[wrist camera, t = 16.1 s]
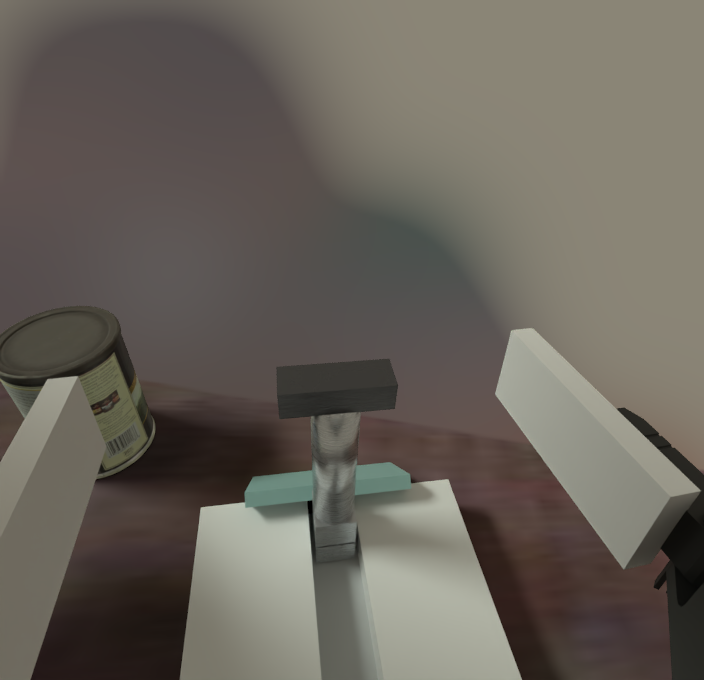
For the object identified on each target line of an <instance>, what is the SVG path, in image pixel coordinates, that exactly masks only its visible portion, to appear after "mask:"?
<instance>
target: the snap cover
mask: <svg viewBox="0 0 704 680" xmlns="http://www.w3.org/2000/svg"><path fill="white" fill-rule="evenodd" d="M405 489H411V479H410V474H409V473H407V472H405V471H404V470H402V469H400V468H399V467H397V466H396V465H394V464H392V463H391V462H388V463H378V464H369V465H359V466H357V471H356V485H355V495H361V494H370V493H379V492H387V491H396V490H405ZM312 490H313V475H312V471H303V472H293V473H284V474H275V475H265V476H256V477H253V478H252V480H251V482H250V484H249V485H248V487H247V489H246V491H245V508H249V507H257V506H266V505H275V504H283V503H292V502H301V501H309V500H312Z"/></svg>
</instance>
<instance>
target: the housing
mask: <svg viewBox="0 0 704 680" xmlns="http://www.w3.org/2000/svg"><path fill="white" fill-rule="evenodd" d="M354 508H355V514H356V520H357V528H356V541H355V553H354V558H350V559H343V560H336V561H328V562H321V563H316V553H315V541H314V530H313V513H311V514H308V505H307V501H301V502H292V503H283V504H275V505H266V506H257V507H249V508H245V503H236V504H227V505H218V506H209V507H201V511H200V519H199V527H198V535H197V543H196V551H195V560H194V568H193V576H192V584H191V592H190V600H189V608H188V616H187V624H186V632H185V640H184V648H183V657H182V665H181V673H180V680H522V678H521V676H520V673H519V670H518V668H517V665H516V662H515V659H514V657H513V654H512V651H511V649H510V646H509V643H508V640H507V638H506V635H505V632H504V630H503V627H502V624H501V621H500V619H499V616H498V613H497V611H496V608H495V605H494V603H493V600H492V597H491V594H490V592H489V589H488V586H487V584H486V581H485V578H484V575H483V573H482V570H481V567H480V565H479V562H478V559H477V556H476V554H475V551H474V548H473V546H472V543H471V540H470V537H469V535H468V532H467V529H466V527H465V524H464V521H463V518H462V516H461V513H460V510H459V508H458V505H457V502H456V500H455V497H454V494H453V491H452V489H451V486H450V483H449V481H448V479H446V480H438V481H429V482H420V483H411V489H405V490H396V491H387V492H379V493H370V494H361V495H355V500H354Z"/></svg>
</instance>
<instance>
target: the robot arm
mask: <svg viewBox="0 0 704 680" xmlns="http://www.w3.org/2000/svg"><path fill="white" fill-rule="evenodd" d="M495 395H496V396H497V397H498V399H499V400H500V401H501V403H502V404H503V406H504V407H505V408H506V410H507V411H508V412H509V414H510V415H511V416H512V418H513V419H514V421H515V422H516V423H517V425H518V426H519V427H520V429H521V430H522V431H523V433H524V434H525V436H526V437H527V438H528V440H529V441H530V442H531V444H532V445H533V446H534V448H535V449H536V451H537V452H538V453H539V455H540V456H541V457H542V459H543V460H544V461H545V463H546V464H547V466H548V467H549V468H550V470H551V471H552V472H553V474H554V475H555V476H556V478H557V479H558V481H559V482H560V483H561V485H562V486H563V487H564V489H565V490H566V491H567V493H568V494H569V496H570V497H571V498H572V500H573V501H574V502H575V504H576V505H577V506H578V508H579V509H580V511H581V512H582V513H583V515H584V516H585V517H586V519H587V520H588V521H589V523H590V524H591V526H592V527H593V528H594V530H595V531H596V532H597V534H598V535H599V536H600V538H601V539H602V541H603V542H604V543H605V545H606V546H607V547H608V549H609V550H610V551H611V553H612V554H613V556H614V557H615V558H616V560H617V561H618V562H619V564H620V565H621V566H622V568H623V569H628V568H633V567H637V566H641V565H646V564H650V563H651V562H652V561H653V559H654V558H655V556H656V555H657V554H658V552H659V551H660V549H662V550H663V552H664V553H665V554H666V555H667V556H668V558H669V559H670V561H669V562H668V564H667V565H666V566H665V568H664V569H663V570H662V572H661V573H660V574H659V576H658V577H657V579H656V580H655V584H654V588H656V589H658V590H659V589H660V587H661V586H662V585H663V583H664V582H665V581H666V580H667V591H666V593H667V596H668V613H669V631H670V648H671V666H672V680H704V475H703V474H702V473H701V472H700V471H699V470H698V469H697V468H696V467H695V466H694V465H693V464H692V463H690V462H689V461H688V460H687V459H686V458H685V457H684V456H683V455H682V454H681V453H680V452H679V451H677V450H676V449H675V448H672V447H671V444H670V443H669V442H668V441H667V440H665V438H663V437H662V436H659V433H658V432H657V431H656V430H655V429H654V428H652V426H650V425H649V424H648V423H647V422H646V421H645V420H644V419H642V418H641V417H639V416H637V415H636V414H634V413H632V412H631V411H629V410H627V409H625V408H618V409H616V408H615V407H614V406H613V405H612V404H611V403H609V402H608V401H607V400H606V399H605V398H604V397H603V396H602V395H601V394H600V393H599V392H598V391H597V390H596V389H595V388H594V387H593V386H592V385H591V384H590V383H589V382H588V381H587V380H586V379H584V377H583V376H582V375H581V374H579V373H578V372H577V371H576V370H575V369H574V368H573V367H572V366H571V365H570V364H569V363H568V362H567V361H566V360H565V359H564V358H563V357H562V356H561V355H560V354H558V352H557V351H556V350H555V349H554V348H552V346H550V344H548V343H547V342H546V341H545V340H544V339H543V338H542V337H541V336H540V335H539V334H538V333H537V332H536V331H535V330H534V329H533V328H528V329H519V330H512V331H511V334H510V338H509V342H508V346H507V350H506V354H505V358H504V362H503V366H502V370H501V374H500V378H499V382H498V385H497V389H496V393H495ZM105 449H106V444H105V441H104V439H103V436H102V434H101V431H100V429H99V426H98V424H97V421H96V419H95V417H94V414H93V412H92V409H91V407H90V404H89V402H88V399H87V397H86V394H85V392H84V390H83V387H82V385H81V382H80V380H79V377H78V376H74V377H64V378H55V379H47V381H46V383H45V384H44V386H43V388H42V390H41V391H40V393H39V395H38V397H37V398H36V400H35V402H34V404H33V406H32V407H31V409H30V411H29V413H28V414H27V416H26V418H25V420H24V421H23V423H22V425H21V427H20V428H19V430H18V432H17V434H16V436H15V437H14V439H13V441H12V443H11V444H10V446H9V448H8V450H7V451H6V453H5V455H4V457H3V458H2V460H1V462H0V680H31V677H32V673H33V670H34V667H35V664H36V661H37V658H38V655H39V652H40V649H41V646H42V643H43V640H44V637H45V634H46V631H47V627H48V624H49V621H50V618H51V615H52V612H53V609H54V606H55V603H56V600H57V597H58V594H59V591H60V588H61V585H62V581H63V578H64V575H65V572H66V569H67V566H68V563H69V560H70V557H71V554H72V551H73V548H74V545H75V542H76V538H77V535H78V532H79V529H80V526H81V523H82V520H83V517H84V514H85V511H86V508H87V505H88V502H89V499H90V496H91V492H92V489H93V486H94V483H95V480H96V477H97V474H98V471H99V468H100V465H101V462H102V459H103V456H104V453H105Z"/></svg>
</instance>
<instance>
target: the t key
mask: <svg viewBox="0 0 704 680" xmlns="http://www.w3.org/2000/svg"><path fill="white" fill-rule="evenodd" d="M397 389H398V384H397V381H396V378H395V375H394V372H393V369H392V366H391V363H390V360H389V359H380V360H366V361H353V362H340V363H339V362H338V363H325V364H312V365H297V366H284V367H277V397H278V408H279V418H280V419H286V418H298V417H309V416H311V444H312V475H313V490H312V506H313V530H314V541H315V553H316V563H321V562H328V561H336V560H343V559H350V558H354V553H355V541H356V528H357V520H356V514H355V508H354V500H355V485H356V471H357V457H358V442H359V428H360V413H361V412H365V411H375V410H386V409H395V402H396V396H397Z"/></svg>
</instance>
